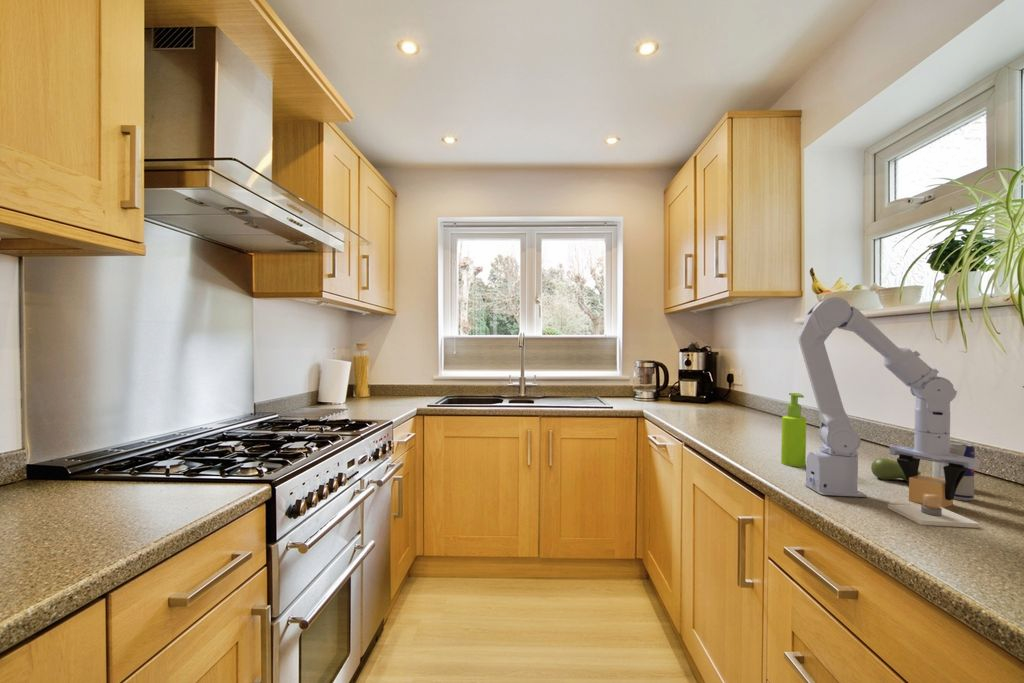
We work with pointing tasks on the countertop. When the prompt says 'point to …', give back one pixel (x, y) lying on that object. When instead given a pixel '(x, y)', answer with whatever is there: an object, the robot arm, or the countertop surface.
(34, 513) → the countertop surface
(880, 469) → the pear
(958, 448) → the energy drink
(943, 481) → the cardboard-colored cube
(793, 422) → the soap dispenser
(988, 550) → the countertop surface
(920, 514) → the plate
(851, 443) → the robot arm
